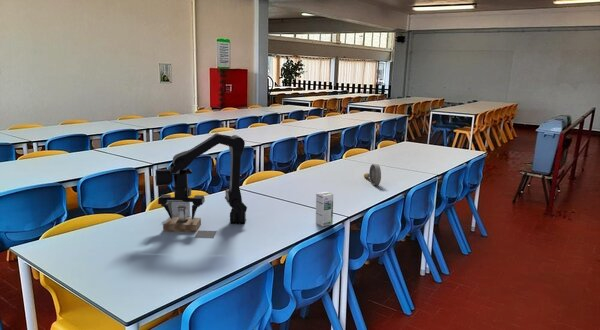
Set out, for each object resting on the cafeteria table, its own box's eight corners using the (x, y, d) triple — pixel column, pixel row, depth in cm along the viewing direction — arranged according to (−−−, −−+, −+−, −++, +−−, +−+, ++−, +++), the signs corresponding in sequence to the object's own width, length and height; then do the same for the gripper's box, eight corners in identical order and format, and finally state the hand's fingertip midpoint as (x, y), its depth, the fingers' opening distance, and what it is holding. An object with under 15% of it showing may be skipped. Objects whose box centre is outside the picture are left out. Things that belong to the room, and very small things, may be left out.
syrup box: (322, 226, 197) (323, 196, 194) (314, 222, 202) (316, 192, 198) (332, 224, 200) (334, 194, 197) (324, 220, 205) (326, 190, 202)
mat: (217, 231, 188) (217, 230, 188) (213, 238, 180) (213, 238, 180) (198, 231, 188) (198, 230, 188) (194, 238, 180) (194, 237, 180)
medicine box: (190, 215, 207) (190, 198, 205) (185, 218, 202) (185, 200, 201) (175, 213, 209) (175, 196, 207) (170, 216, 205) (169, 199, 203)
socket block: (200, 225, 195) (200, 217, 194) (196, 232, 186) (196, 225, 185) (169, 224, 195) (169, 216, 194) (163, 231, 186) (162, 224, 185)
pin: (188, 227, 192) (187, 205, 190) (185, 230, 189) (185, 208, 186) (179, 226, 192) (178, 205, 190) (177, 230, 189) (176, 208, 186)
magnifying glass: (362, 165, 286) (375, 163, 262) (367, 165, 287) (380, 163, 262) (363, 185, 286) (376, 185, 261) (368, 185, 286) (381, 185, 262)
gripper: (206, 179, 194) (207, 213, 197) (164, 178, 194) (166, 212, 197) (201, 186, 183) (202, 221, 187) (156, 185, 183) (158, 220, 186)
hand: (182, 218), depth 190 cm, fingers open, 9 cm apart
